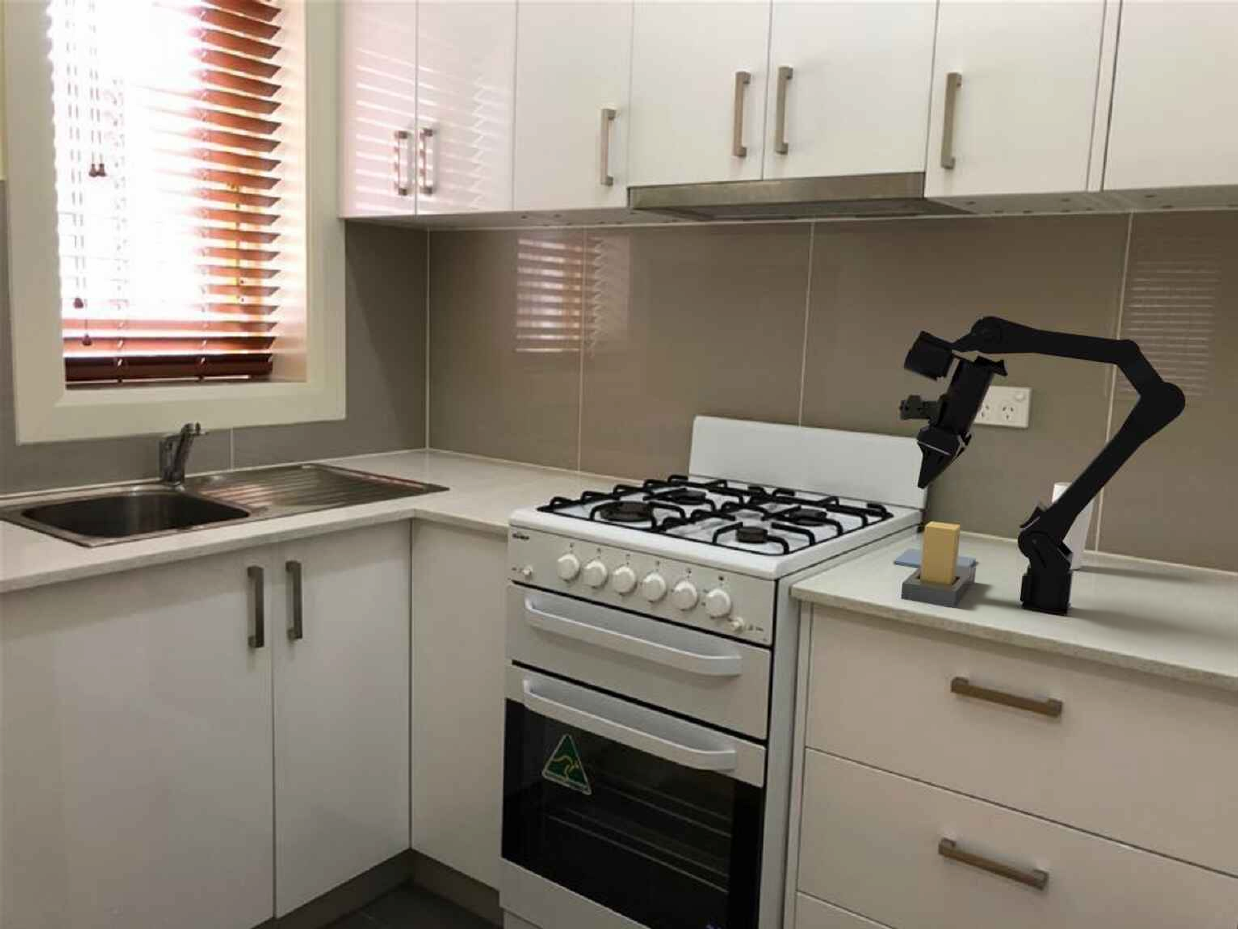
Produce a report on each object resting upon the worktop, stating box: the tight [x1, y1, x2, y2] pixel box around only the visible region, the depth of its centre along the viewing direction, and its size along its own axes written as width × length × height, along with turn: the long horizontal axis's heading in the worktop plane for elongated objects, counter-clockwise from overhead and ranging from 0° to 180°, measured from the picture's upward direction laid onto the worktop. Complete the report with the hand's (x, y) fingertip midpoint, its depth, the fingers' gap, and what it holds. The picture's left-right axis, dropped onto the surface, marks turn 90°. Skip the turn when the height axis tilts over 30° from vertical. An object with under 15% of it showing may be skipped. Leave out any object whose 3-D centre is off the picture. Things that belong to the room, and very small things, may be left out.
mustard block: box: [920, 521, 962, 585], centre depth 157 cm, size 5×5×11 cm
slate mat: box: [892, 548, 976, 569], centre depth 179 cm, size 12×12×1 cm
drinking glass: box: [1051, 482, 1095, 571], centre depth 179 cm, size 7×7×15 cm
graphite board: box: [900, 565, 977, 608], centre depth 160 cm, size 8×18×2 cm, turn 151°
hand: (925, 484), depth 158 cm, fingers open, 9 cm apart
